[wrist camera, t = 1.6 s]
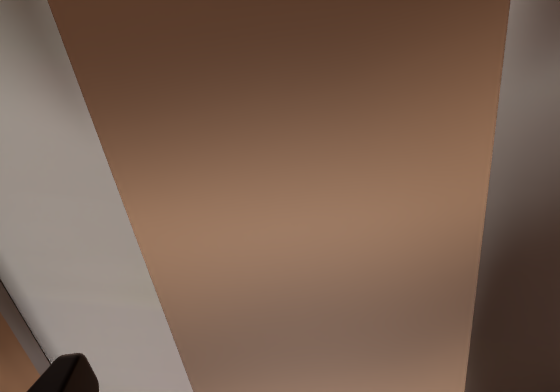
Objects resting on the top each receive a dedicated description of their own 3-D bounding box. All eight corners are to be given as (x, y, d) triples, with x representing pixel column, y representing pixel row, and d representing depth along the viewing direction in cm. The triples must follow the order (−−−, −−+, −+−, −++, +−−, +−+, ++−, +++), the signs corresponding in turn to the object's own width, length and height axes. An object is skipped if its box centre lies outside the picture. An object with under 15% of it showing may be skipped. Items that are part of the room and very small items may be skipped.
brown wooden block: (403, 357, 17) (448, 523, 13) (252, 374, 17) (249, 542, 13) (407, -152, 9) (526, -136, 5) (126, -109, 9) (25, -58, 5)
